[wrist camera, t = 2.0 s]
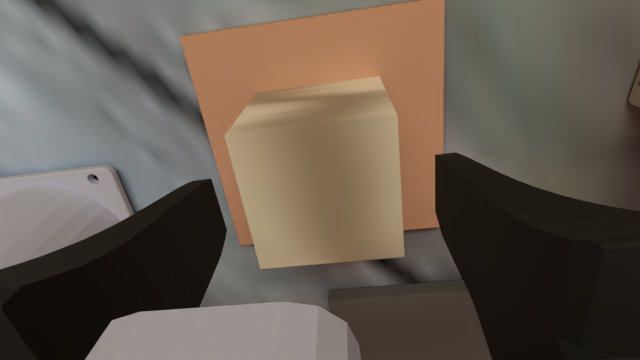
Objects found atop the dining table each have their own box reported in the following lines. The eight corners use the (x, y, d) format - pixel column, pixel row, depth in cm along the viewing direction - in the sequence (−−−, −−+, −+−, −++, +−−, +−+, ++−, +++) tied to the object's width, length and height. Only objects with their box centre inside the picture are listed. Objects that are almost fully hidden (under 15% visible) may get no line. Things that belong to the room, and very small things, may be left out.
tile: (242, 238, 20) (240, 245, 19) (184, 34, 15) (179, 37, 15) (439, 219, 19) (442, 226, 18) (440, -4, 14) (444, -4, 14)
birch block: (279, 197, 18) (260, 269, 13) (256, 92, 15) (224, 136, 11) (387, 186, 17) (404, 256, 13) (379, 76, 15) (397, 115, 11)
